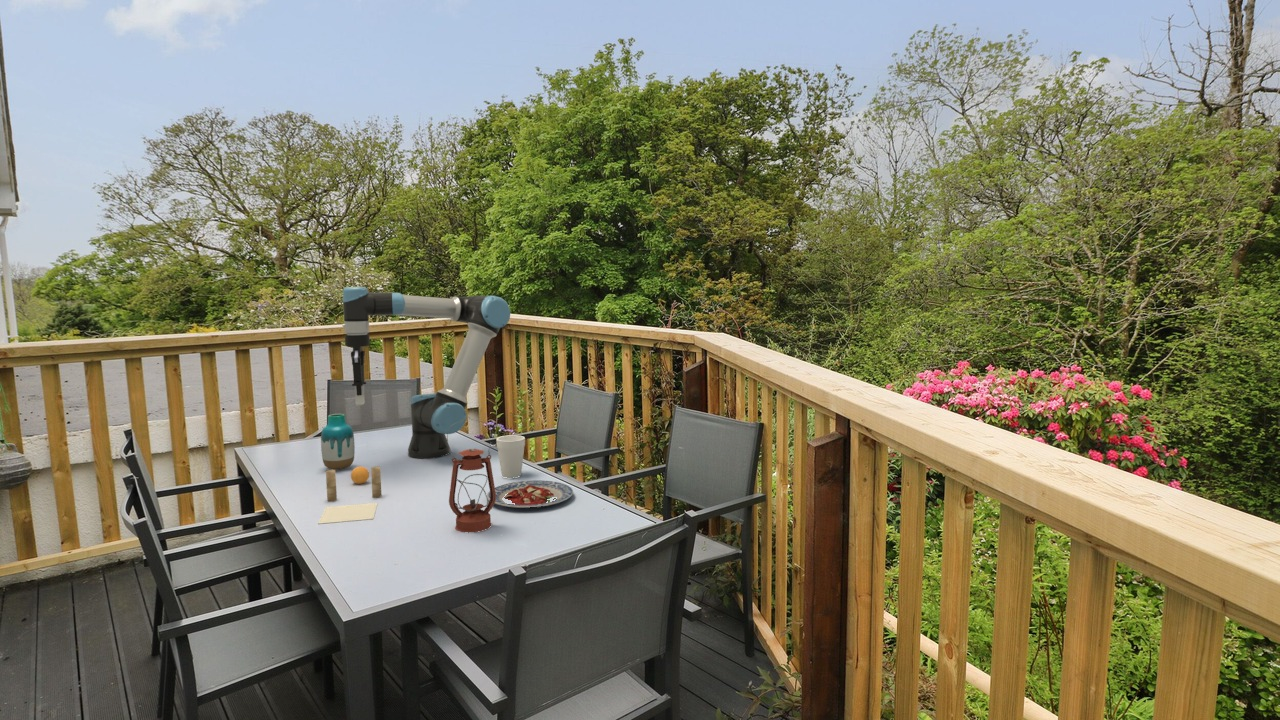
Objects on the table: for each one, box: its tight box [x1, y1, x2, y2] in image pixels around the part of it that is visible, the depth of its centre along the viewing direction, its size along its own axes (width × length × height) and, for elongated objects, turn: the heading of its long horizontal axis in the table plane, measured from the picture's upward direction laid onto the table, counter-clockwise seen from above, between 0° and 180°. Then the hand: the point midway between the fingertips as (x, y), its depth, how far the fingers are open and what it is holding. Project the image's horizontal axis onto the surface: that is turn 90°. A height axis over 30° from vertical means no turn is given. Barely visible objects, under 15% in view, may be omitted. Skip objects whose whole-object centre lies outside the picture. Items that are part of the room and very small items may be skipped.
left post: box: [325, 469, 338, 502], centre depth 203 cm, size 3×3×9 cm
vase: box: [320, 413, 356, 471], centre depth 237 cm, size 11×11×19 cm
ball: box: [350, 466, 370, 485], centre depth 221 cm, size 6×6×6 cm
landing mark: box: [317, 502, 378, 525], centre depth 192 cm, size 14×14×1 cm
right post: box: [370, 466, 382, 499], centre depth 207 cm, size 3×3×9 cm
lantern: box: [446, 416, 496, 534], centre depth 181 cm, size 10×10×30 cm
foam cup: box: [495, 434, 526, 479], centre depth 229 cm, size 10×9×13 cm
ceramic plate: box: [486, 479, 574, 509], centre depth 206 cm, size 26×26×3 cm
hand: (360, 404), depth 227 cm, fingers closed
